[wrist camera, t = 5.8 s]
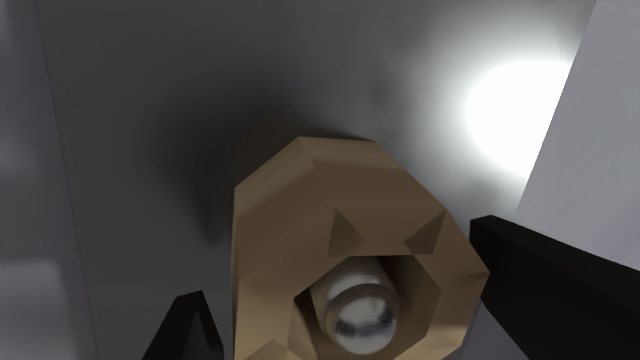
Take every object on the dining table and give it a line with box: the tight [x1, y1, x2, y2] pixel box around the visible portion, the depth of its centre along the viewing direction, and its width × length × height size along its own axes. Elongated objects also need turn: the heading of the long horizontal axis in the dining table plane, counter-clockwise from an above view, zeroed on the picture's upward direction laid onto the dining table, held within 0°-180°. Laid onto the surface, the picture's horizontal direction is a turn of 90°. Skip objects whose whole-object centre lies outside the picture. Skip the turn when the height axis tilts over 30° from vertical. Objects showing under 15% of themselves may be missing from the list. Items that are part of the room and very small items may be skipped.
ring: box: [231, 136, 490, 360], centre depth 10 cm, size 6×6×4 cm
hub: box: [36, 0, 596, 360], centre depth 10 cm, size 16×14×5 cm
